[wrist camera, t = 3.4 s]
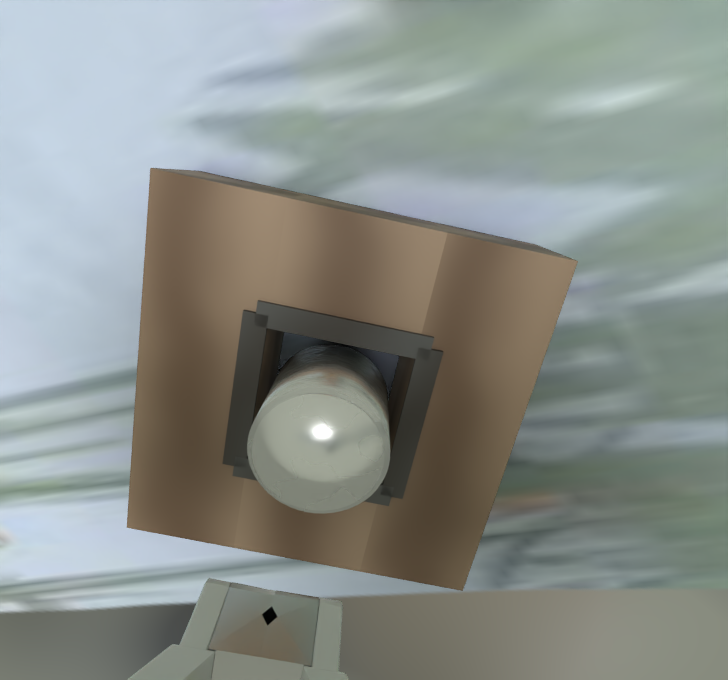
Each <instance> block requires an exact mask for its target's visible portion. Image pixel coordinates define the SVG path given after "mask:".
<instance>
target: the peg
mask: <svg viewBox="0 0 728 680" xmlns="http://www.w3.org/2000/svg"><path fill="white" fill-rule="evenodd" d="M247 453H248V460H249V464H250V467H251V469H252V472H253V474H254V476H255V477H256V479H257V481H258V482H259V483H260V485H261V486H262V487H263V488H264V489H265V490H266V491H267V493H269V494H270V495H271V496H272V497H273V498H275V499H276V500H278V501H279V502H281V503H283V504H285V505H287V506H289V507H291V508H294V509H297V510H300V511H304V512H309V513H323V514H325V513H335V512H340V511H344V510H347V509H350V508H352V507H354V506H356V505H358V504H360V503H362V502H363V501H365V500H366V499H367V498H369V497H370V496H371V495H372V494H373V493H374V492H375V491H376V490H377V489H378V487H379V486H380V485H381V483H382V482H383V480H384V478H385V476H386V473H387V470H388V467H389V462H390V435H389V414H388V395H387V388H386V384H385V381H384V379H383V377H382V375H381V373H380V371H379V370H378V368H377V367H376V366H375V365H374V363H372V362H371V361H370V360H369V359H368V358H367V357H366V356H364V355H363V354H361V353H359V352H358V351H356V350H353V349H351V348H348V347H345V346H341V345H334V344H324V345H317V346H312V347H309V348H307V349H304V350H302V351H300V352H298V353H297V354H295V355H294V356H292V357H291V358H290V359H289V360H288V361H287V362H286V363H285V364H284V366H283V367H282V368H281V370H280V372H279V373H278V375H277V377H276V379H275V381H274V383H273V385H272V387H271V389H270V391H269V393H268V395H267V397H266V399H265V401H264V403H263V404H262V406H261V408H260V410H259V412H258V414H257V416H256V418H255V420H254V422H253V424H252V426H251V429H250V432H249V436H248V442H247Z"/></svg>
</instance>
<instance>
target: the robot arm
mask: <svg viewBox="0 0 728 680" xmlns="http://www.w3.org/2000/svg"><path fill="white" fill-rule="evenodd" d="M342 610H343V605H342V602H341V601H336V600H330V599H324V598H320V599H319V597H313V596H307V595H300V594H294V593H288V592H282V591H273V590H268V589H263V588H258V587H253V586H248V585H243V584H238V583H233V582H232V583H231V582H226V581H221V580H216V579H211V578H209V579H208V580H207V582H206V583H205V585H204V587H203V589H202V592H201V594H200V597H199V599H198V602H197V604H196V606H195V609H194V611H193V614H192V616H191V619H190V621H189V623H188V626H187V628H186V631H185V633H184V635H183V638H182V640H181V643H180V645H174V644H173V645H171V646H170V647H168V648H167V649H166V650H165V651H163V652H162V653H161V654H159V655H158V656H157V657H156V658H155V659H153V660H152V661H150V662H149V663H148V664H147V665H145V666H144V667H143V668H141V669H140V670H139V671H138V672H136V673H135V674H134V675H133V676H131V677H130V678H129V679H127V680H349V679H348V677H347V675H346V673H342V672H339V658H340V641H341V625H342Z"/></svg>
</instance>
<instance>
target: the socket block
mask: <svg viewBox="0 0 728 680" xmlns="http://www.w3.org/2000/svg"><path fill="white" fill-rule="evenodd" d="M577 263H578V261H576V260H573V259H571V258H568V257H566V256H563V255H561V254H558V253H556V252H553V251H551V250H548V249H546V248H543V247H540V246H538V245H535V244H530V243H526V242H521V241H517V240H512V239H507V238H503V237H498V236H494V235H489V234H485V233H480V232H476V231H471V230H466V229H462V228H457V227H453V226H448V225H444V224H439V223H434V222H430V221H425V220H421V219H416V218H412V217H407V216H402V215H398V214H393V213H389V212H384V211H380V210H375V209H371V208H366V207H361V206H357V205H352V204H348V203H343V202H339V201H334V200H329V199H325V198H320V197H316V196H311V195H307V194H302V193H297V192H293V191H288V190H284V189H279V188H275V187H270V186H265V185H261V184H256V183H252V182H247V181H243V180H238V179H234V178H229V177H224V176H220V175H215V174H211V173H206V172H202V171H191V170H175V169H159V168H151V169H150V184H149V199H148V214H147V229H146V244H145V260H144V275H143V290H142V305H141V320H140V335H139V350H138V365H137V380H136V396H135V411H134V426H133V441H132V456H131V471H130V486H129V501H128V517H127V528H132V529H137V530H143V531H148V532H153V533H158V534H164V535H169V536H174V537H180V538H185V539H190V540H196V541H201V542H206V543H212V544H217V545H222V546H228V547H233V548H238V549H244V550H249V551H254V552H259V553H265V554H270V555H275V556H281V557H286V558H291V559H297V560H302V561H307V562H313V563H318V564H323V565H329V566H334V567H339V568H344V569H350V570H355V571H360V572H366V573H371V574H376V575H382V576H387V577H392V578H398V579H403V580H408V581H414V582H419V583H424V584H430V585H435V586H440V587H445V588H451V589H456V590H461V591H463V588H464V585H465V582H466V580H467V577H468V574H469V571H470V568H471V565H472V562H473V560H474V557H475V554H476V551H477V548H478V545H479V542H480V540H481V537H482V534H483V531H484V528H485V525H486V522H487V520H488V517H489V514H490V511H491V508H492V505H493V502H494V500H495V497H496V494H497V491H498V488H499V485H500V482H501V480H502V477H503V474H504V471H505V468H506V465H507V462H508V460H509V457H510V454H511V451H512V448H513V445H514V442H515V440H516V437H517V434H518V431H519V428H520V425H521V422H522V420H523V417H524V414H525V411H526V408H527V405H528V402H529V400H530V397H531V394H532V391H533V388H534V385H535V382H536V380H537V377H538V374H539V371H540V368H541V365H542V362H543V360H544V357H545V354H546V351H547V348H548V345H549V342H550V340H551V337H552V334H553V331H554V328H555V325H556V323H557V320H558V317H559V314H560V311H561V308H562V305H563V303H564V300H565V297H566V294H567V291H568V288H569V285H570V283H571V280H572V277H573V274H574V271H575V268H576V265H577ZM284 332H288V333H293V334H298V335H302V336H307V337H312V338H317V339H322V340H327V341H331V342H336V343H341V344H346V345H351V346H355V347H360V348H365V349H370V350H375V351H380V352H384V353H389V354H394V355H399V360H398V364H397V368H396V372H395V376H394V380H393V384H392V388H391V392H390V396H389V400H388V414H389V435H390V462H389V467H388V470H387V473H386V476H385V478H384V480H383V482H382V483H381V485H380V486H379V487H378V489H377V490H376V491H375V492H374V493H373V494H372V495H371V496H370V497H369V498H367V499H366V500H365V501H363V502H362V503H360V504H358V505H356V506H354V507H352V508H350V509H347V510H344V511H340V512H335V513H325V514H323V513H309V512H304V511H300V510H297V509H294V508H291V507H289V506H287V505H285V504H283V503H281V502H279V501H278V500H276V499H275V498H273V497H272V496H271V495H270V494H269V493H267V491H266V490H265V489H264V488H263V487H262V486H261V485H260V483H259V482H258V481H257V479H256V477H255V476H254V474H253V472H252V469H251V467H250V464H249V460H248V453H247V442H248V436H249V432H250V429H251V426H252V424H253V422H254V420H255V418H256V416H257V414H258V412H259V410H260V408H261V406H262V404H263V403H264V401H265V399H266V397H267V395H268V393H269V391H270V389H271V387H272V385H273V383H274V381H275V379H276V376H277V370H278V364H279V358H280V352H281V346H282V340H283V334H284Z"/></svg>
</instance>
